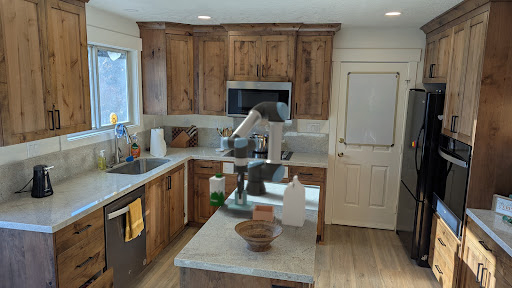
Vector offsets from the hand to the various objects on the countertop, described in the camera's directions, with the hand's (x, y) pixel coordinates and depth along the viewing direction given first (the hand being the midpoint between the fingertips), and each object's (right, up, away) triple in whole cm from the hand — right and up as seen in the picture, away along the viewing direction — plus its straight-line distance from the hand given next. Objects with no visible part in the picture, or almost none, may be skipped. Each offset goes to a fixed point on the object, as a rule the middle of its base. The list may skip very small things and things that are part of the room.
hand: (240, 202), depth 209 cm
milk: (+30, -9, -10) cm, 33 cm away
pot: (+13, -8, -9) cm, 18 cm away
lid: (0, -1, 0) cm, 1 cm away
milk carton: (-16, -4, +14) cm, 21 cm away
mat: (0, -6, +1) cm, 6 cm away
